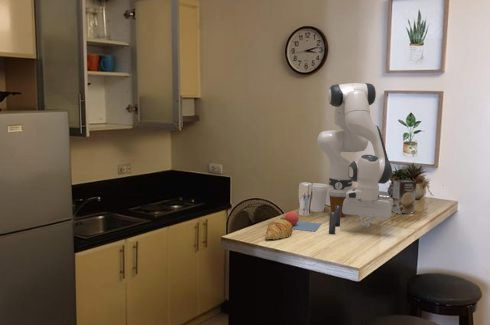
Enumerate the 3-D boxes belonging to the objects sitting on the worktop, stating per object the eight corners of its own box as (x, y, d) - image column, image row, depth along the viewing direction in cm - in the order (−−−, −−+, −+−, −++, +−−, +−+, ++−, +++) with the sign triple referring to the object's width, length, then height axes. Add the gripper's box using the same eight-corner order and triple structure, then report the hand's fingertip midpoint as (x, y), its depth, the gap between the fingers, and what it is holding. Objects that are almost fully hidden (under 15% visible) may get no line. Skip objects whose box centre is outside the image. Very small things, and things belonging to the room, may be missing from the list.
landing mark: (291, 220, 234) (291, 220, 234) (321, 224, 229) (321, 223, 229) (283, 228, 221) (283, 227, 221) (315, 231, 216) (315, 231, 216)
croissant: (272, 251, 200) (281, 235, 197) (253, 235, 204) (261, 220, 201) (295, 237, 218) (304, 222, 215) (277, 223, 222) (285, 208, 219)
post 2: (334, 224, 228) (335, 205, 227) (340, 225, 227) (341, 205, 226) (333, 226, 226) (334, 206, 225) (339, 226, 225) (340, 206, 224)
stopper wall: (284, 220, 234) (284, 215, 234) (288, 221, 233) (288, 215, 233) (276, 226, 223) (277, 221, 222) (281, 227, 222) (281, 221, 222)
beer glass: (295, 213, 249) (296, 182, 247) (307, 212, 251) (308, 181, 249) (302, 216, 242) (303, 185, 240) (315, 215, 245) (316, 184, 243)
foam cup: (330, 212, 252) (331, 186, 250) (312, 213, 249) (313, 187, 247) (321, 208, 261) (323, 183, 259) (305, 209, 258) (306, 183, 256)
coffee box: (398, 214, 250) (400, 182, 248) (391, 211, 256) (393, 180, 254) (414, 213, 253) (416, 181, 251) (406, 210, 259) (408, 179, 257)
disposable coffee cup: (334, 218, 240) (335, 193, 238) (323, 214, 248) (324, 189, 246) (351, 217, 243) (353, 192, 242) (340, 212, 252) (341, 188, 250)
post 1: (329, 232, 216) (330, 211, 215) (335, 232, 215) (336, 212, 214) (328, 233, 214) (329, 212, 212) (334, 234, 213) (335, 213, 211)
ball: (287, 210, 229) (300, 211, 227) (286, 223, 229) (299, 225, 227) (283, 211, 223) (297, 213, 222) (282, 225, 224) (296, 227, 222)
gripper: (394, 194, 214) (391, 227, 216) (344, 190, 220) (342, 221, 222) (393, 198, 208) (390, 231, 210) (342, 193, 214) (340, 225, 216)
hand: (365, 226), depth 216 cm, fingers closed
